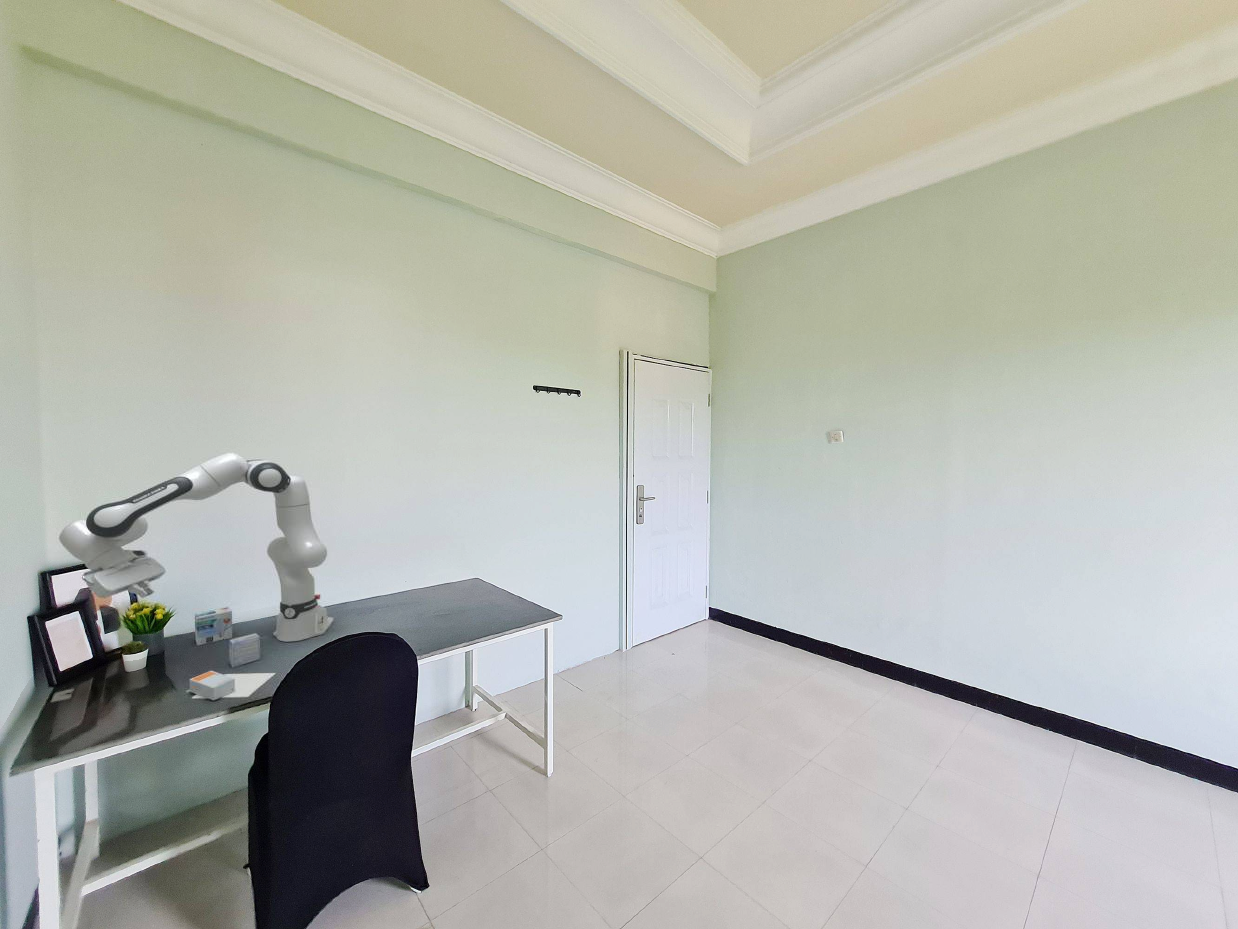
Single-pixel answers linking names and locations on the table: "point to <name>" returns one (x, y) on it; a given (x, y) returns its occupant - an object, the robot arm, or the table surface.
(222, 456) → the robot arm
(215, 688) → the skincare box
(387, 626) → the table surface
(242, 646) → the medicine box
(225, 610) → the light bulb box
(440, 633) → the table surface
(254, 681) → the off-white mat
